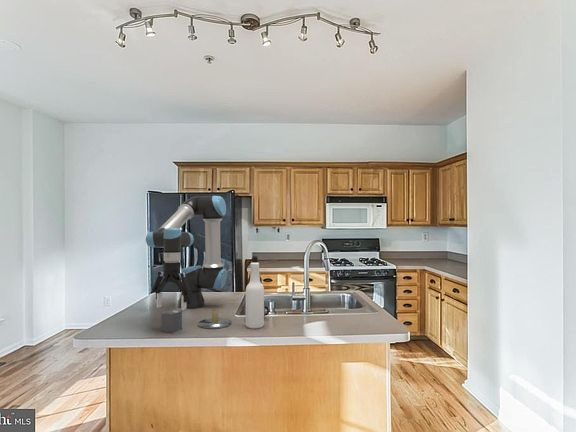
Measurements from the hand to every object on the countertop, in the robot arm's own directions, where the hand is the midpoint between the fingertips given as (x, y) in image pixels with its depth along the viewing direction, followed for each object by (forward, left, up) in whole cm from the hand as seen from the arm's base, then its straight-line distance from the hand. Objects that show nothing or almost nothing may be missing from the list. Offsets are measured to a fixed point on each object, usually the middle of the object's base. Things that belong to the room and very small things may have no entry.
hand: (171, 308), depth 168 cm
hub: (+4, +20, -10) cm, 23 cm away
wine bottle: (-12, +54, -10) cm, 57 cm away
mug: (+10, +41, -10) cm, 44 cm away
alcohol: (+19, +33, -10) cm, 40 cm away
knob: (0, 0, -10) cm, 10 cm away
